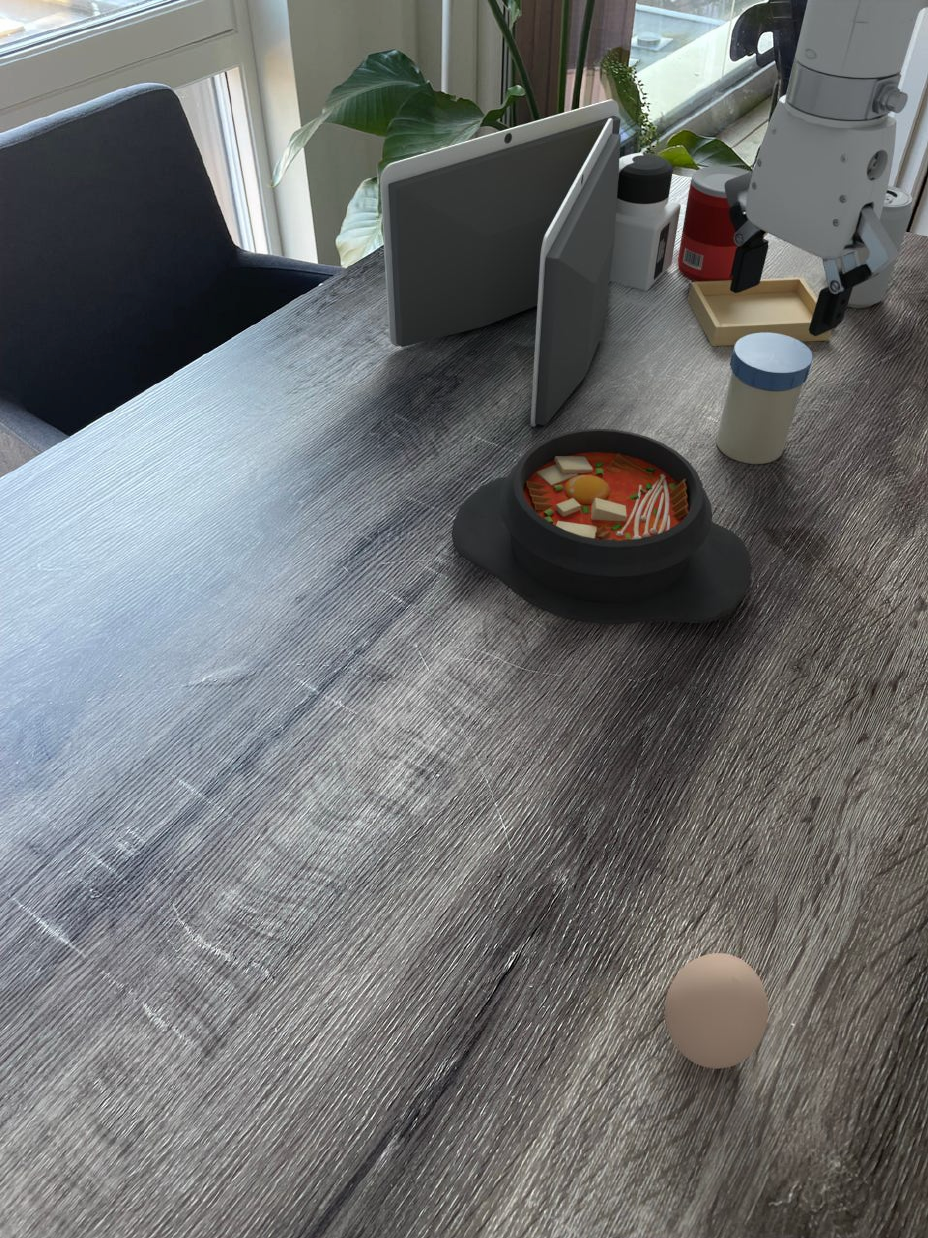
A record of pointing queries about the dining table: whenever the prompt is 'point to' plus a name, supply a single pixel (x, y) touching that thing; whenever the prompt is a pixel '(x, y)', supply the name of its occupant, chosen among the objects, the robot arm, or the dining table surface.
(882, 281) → the beverage can
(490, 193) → the grey hinged panel
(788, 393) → the jar
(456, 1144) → the dining table surface
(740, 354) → the lid
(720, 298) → the tray
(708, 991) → the egg
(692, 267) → the canned food
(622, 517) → the casserole
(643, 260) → the container
